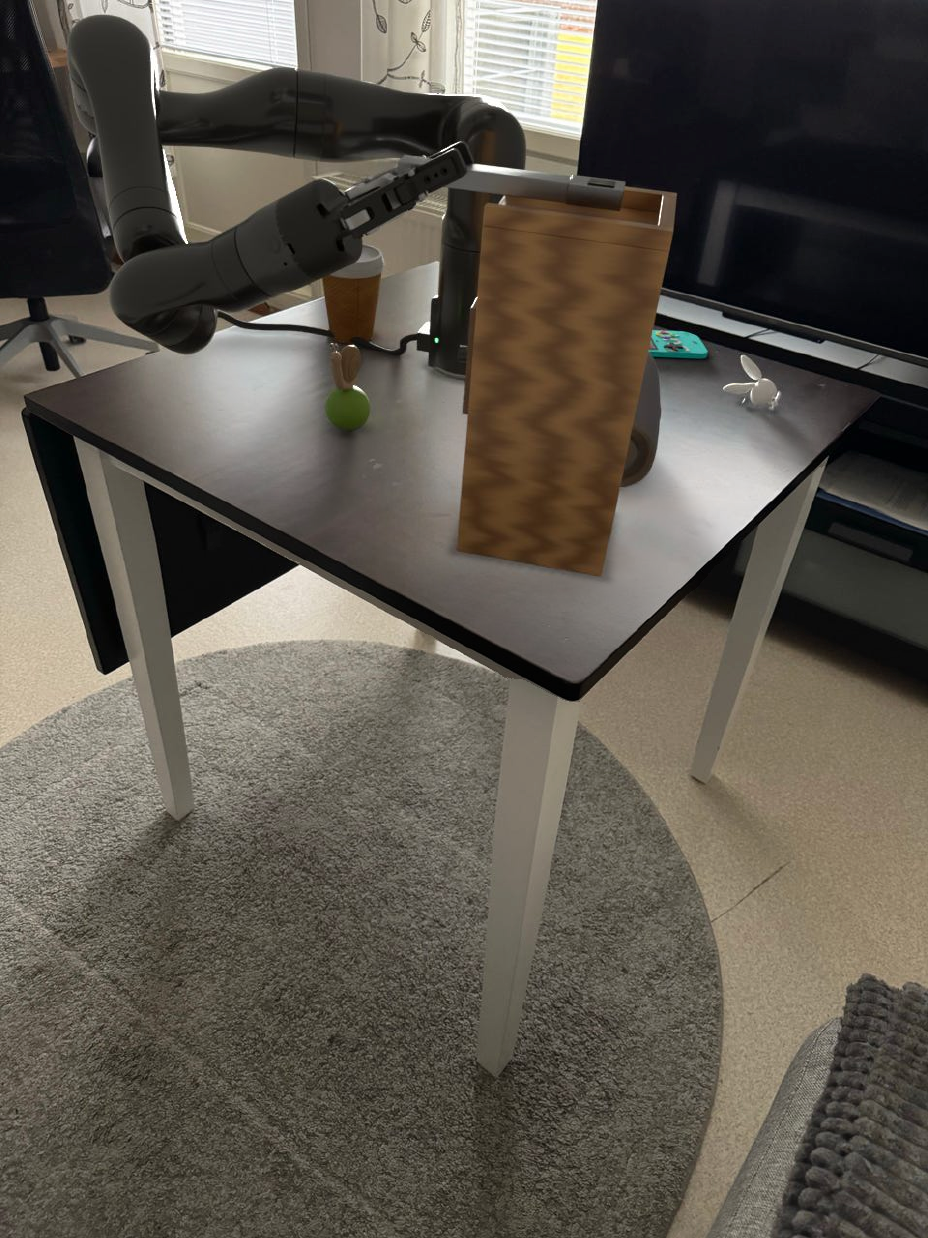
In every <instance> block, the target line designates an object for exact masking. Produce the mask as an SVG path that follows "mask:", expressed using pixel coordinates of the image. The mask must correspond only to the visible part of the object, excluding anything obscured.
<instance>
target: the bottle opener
mask: <svg viewBox="0 0 928 1238" xmlns="http://www.w3.org/2000/svg"><path fill="white" fill-rule="evenodd" d="M431 159H433V158H425V157H417V156H409V155H404V156H403V157H402V158H399V160H397V164H398V169H397V175H399V174H401V173H403V172H405V170H406V169H408V168H414V167H415V168H416V171H417V173H418V172H419V171H418V169H417V167H418V166H420V165H422V164H424V163H426V162H428V161H430V160H431ZM465 165H466V167H467V173H466V174H465V175H464V177H462V178H460V179H458V180H456V181H454V182H452V183H450V184H448V185H446V186H444V187H443V188H447V189H448V188H453V189H461V190H469V191H476V192H484V193H492V194H499V195H507V196H515V197H523V198H530V199H538V200H546V201H553V202H561V203H566V205H573V206H581V207H589V208H596V209H604V210H612V211H620V208H621V205H622V201H623V195H624V189H625V186H626V181H622V180H616V179H608V178H600V177H591V176H584V175H575V174H572V175H565V174H557V173H551V172H544V171H543V172H542V171H535V170H528V169H527V170H526V169H525V170H520V169H512V168H504V167H496V166H488V165H480V164H472V163H465Z"/></svg>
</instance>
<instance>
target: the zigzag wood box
mask: <svg viewBox="0 0 928 1238" xmlns="http://www.w3.org/2000/svg"><path fill="white" fill-rule="evenodd" d="M677 198H678V193H677V192H672V191H664V190H655V189H647V188H640V187H632V186H626V185H625V189H624V195H623V201H622V205H621V208H620V211H612V210H604V209H596V208H589V207H581V206H573V205H566V203H561V202H553V201H546V200H538V199H530V198H523V197H515V196H507V195H504V196H503V197H502V199H501V200H500V202H499V203H498V204H494V203H487V204H486V205H485V206H484V217H483V230H482V243H481V255H480V268H479V280H478V292H477V298H476V300H475V301H474V303H473V305H472V307H471V308H470V321H469V334H468V346H460V348H459V353H458V360H459V361H461V362H466V373H465V380H464V387H463V398H462V399H463V401H462V415H467V417H466V430H465V441H464V442H465V444H464V455H463V468H462V482H461V492H460V493H461V494H460V505H459V506H460V507H459V518H458V529H457V531H458V532H457V541H456V551H457V552H462V553H467V554H473V555H477V556H482V557H483V556H484V557H488V558H489V557H490V558H495V559H501V560H506V561H510V562H511V561H512V562H516V563H517V562H518V563H523V564H528V565H535V566H540V567H546V568H550V569H555V570H562V571H566V572H567V571H568V572H573V573H578V574H583V575H589V576H596V577H602V576H603V572H604V568H605V563H606V559H607V558H606V557H607V552H608V547H609V544H610V538H611V534H612V530H613V523H614V518H615V514H616V510H617V505H618V500H619V495H620V491H621V488H620V486H621V481H622V476H623V471H624V466H625V462H626V457H627V452H628V447H629V442H630V438H631V433H632V428H633V423H634V418H635V413H636V409H637V404H638V399H639V394H640V389H641V385H642V380H643V375H644V370H645V365H646V360H647V356H648V351H649V346H650V341H651V336H652V331H653V330H654V326H655V323H656V317H657V311H658V306H659V302H660V297H661V293H662V288H663V283H664V278H665V273H666V269H667V263H668V259H669V255H670V254H669V253H670V250H671V244H672V240H673V235H674V229H675V228H674V227H675V217H676V206H677Z"/></svg>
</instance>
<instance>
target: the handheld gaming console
mask: <svg viewBox="0 0 928 1238" xmlns="http://www.w3.org/2000/svg"><path fill="white" fill-rule="evenodd" d="M649 352H650V354H651V355H652V357H653V358H655V357H657V358H680V359H705V358H707V356H708V350H707V348H706V346H705V345H704V343H703V342H702V340H701V339H700V337H699V336H697V335H696V334H693V333H691V332H688V331H683V330H663V329H661V330H660V329H653V331H652V336H651V341H650V346H649Z"/></svg>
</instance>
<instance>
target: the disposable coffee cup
mask: <svg viewBox="0 0 928 1238" xmlns="http://www.w3.org/2000/svg"><path fill="white" fill-rule="evenodd" d="M385 266H386V261H385V259H384V257H383V253H382V250H380V248H379V247H378V248H377V247H376V246H374V245H369V244H368V243H363V248H362V254H361V256H360V258H359V260H358V261H357V262H355V263H353V264H351V265H349V266H347V267H345V268H342V269H340V270H338V271H336V272H334V273H332V274H330V275H328V276H325V277H323V278H321V282H322V288H323V290H322V291H323V295H324V303H325V309H326V316H327V323H328V330H330V331H331V332H332V333H333V334H334V338H331V339H332V340H334V341H335V342H339V343H343V344H348V345H357V344H356V343H353V342H351V341H350V339H351V338H354V337H360V338H362V339H365V340H367V341H369V342H370V341H371V340H372V339H373V337H374V330H375V323H376V317H377V316H376V315H377V308H378V301H379V293H380V287H381V280H382V272H383V271H384V268H385Z"/></svg>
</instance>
